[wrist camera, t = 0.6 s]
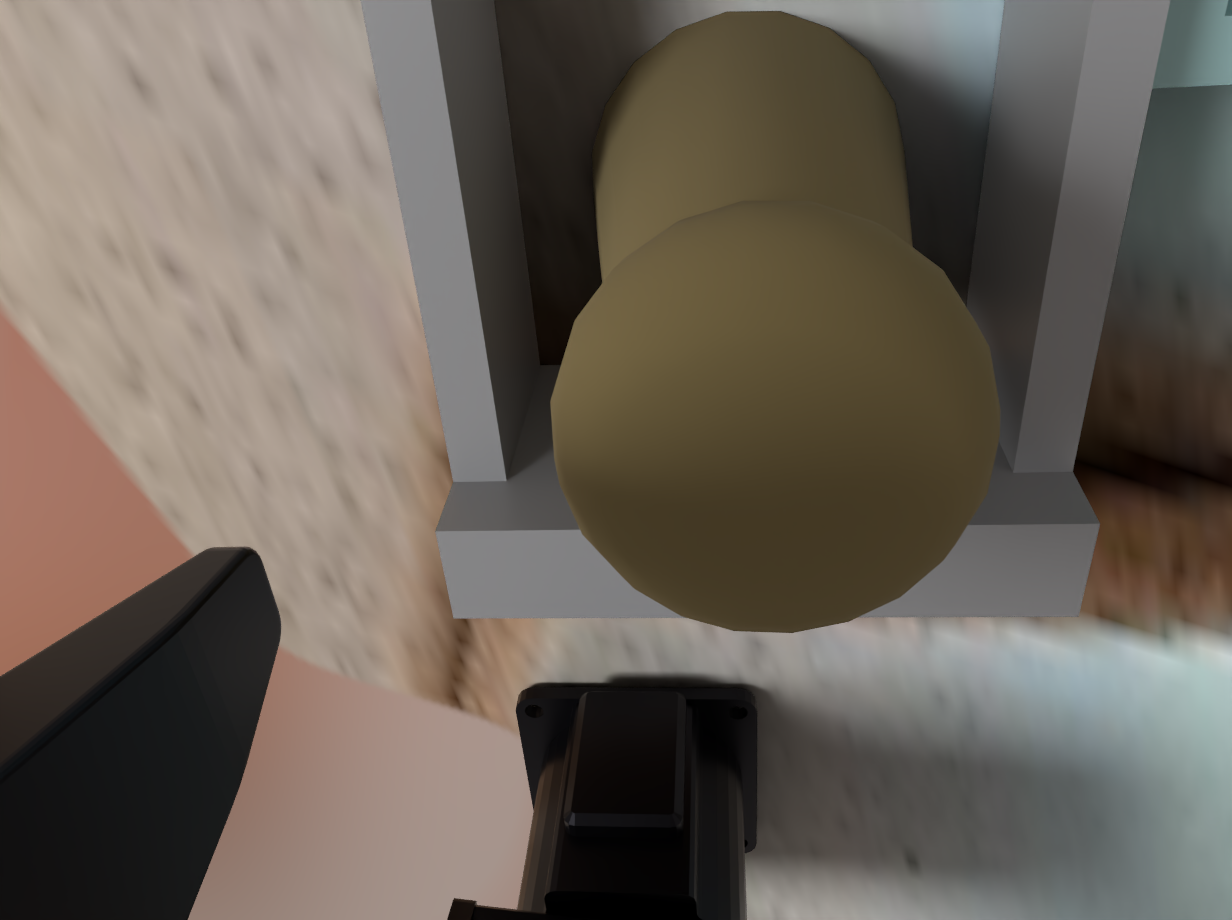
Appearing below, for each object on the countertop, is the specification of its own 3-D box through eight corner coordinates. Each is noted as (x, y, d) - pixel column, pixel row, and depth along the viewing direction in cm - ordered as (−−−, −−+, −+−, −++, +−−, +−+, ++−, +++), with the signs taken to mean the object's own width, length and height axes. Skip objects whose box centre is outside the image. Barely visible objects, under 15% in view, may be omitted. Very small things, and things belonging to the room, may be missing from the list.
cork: (675, 361, 22) (652, 764, 13) (534, 108, 20) (379, 394, 10) (948, 242, 20) (1143, 616, 11) (833, -58, 18) (968, 115, 8)
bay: (997, 432, 23) (1078, 616, 18) (507, 442, 24) (453, 618, 19) (1091, -180, 16) (1259, -163, 11) (419, -127, 17) (304, -90, 12)
